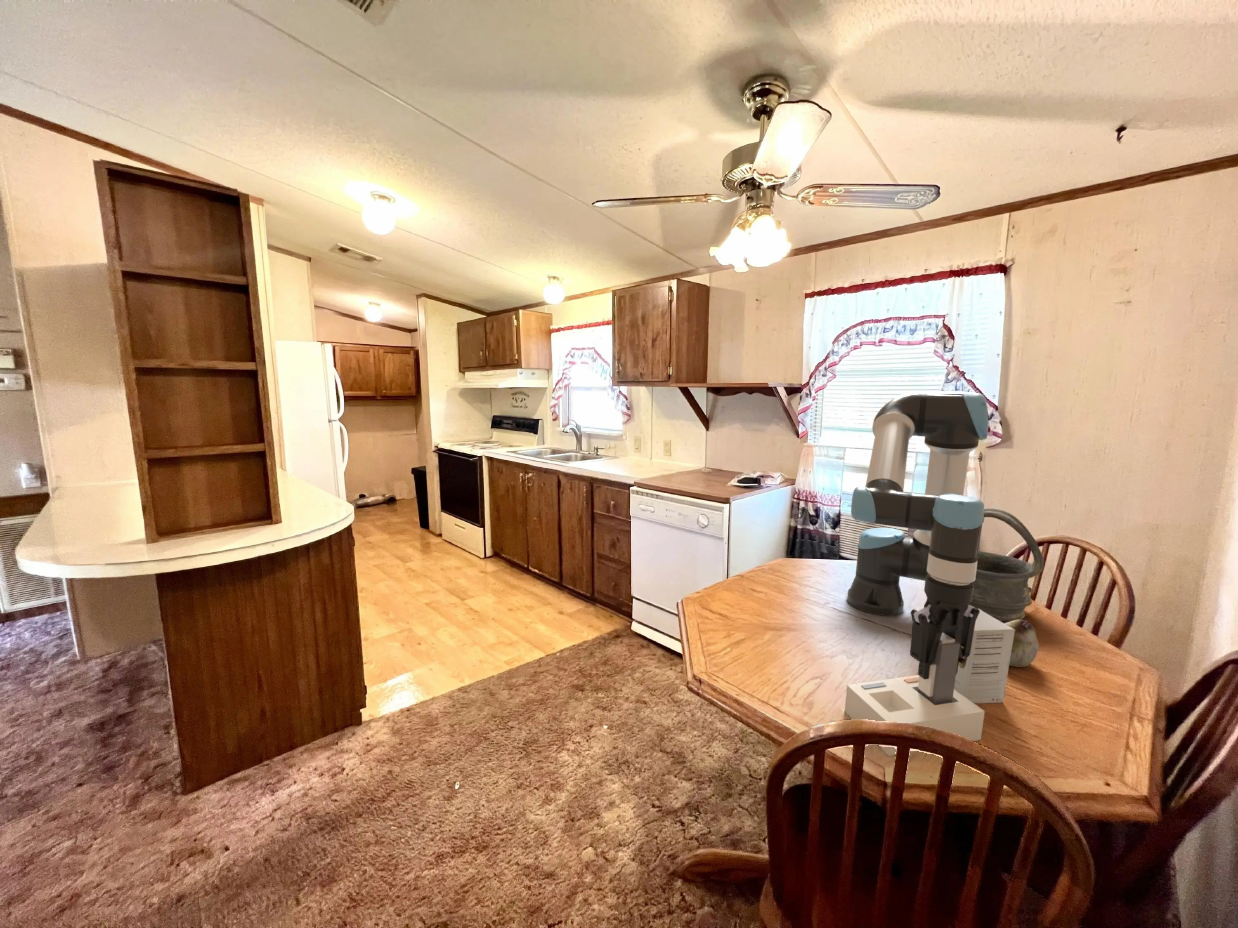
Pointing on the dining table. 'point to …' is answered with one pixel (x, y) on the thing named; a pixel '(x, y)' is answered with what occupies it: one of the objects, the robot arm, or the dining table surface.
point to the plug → (944, 671)
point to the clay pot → (1005, 576)
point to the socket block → (912, 708)
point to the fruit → (1023, 643)
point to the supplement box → (986, 661)
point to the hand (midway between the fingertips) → (935, 690)
